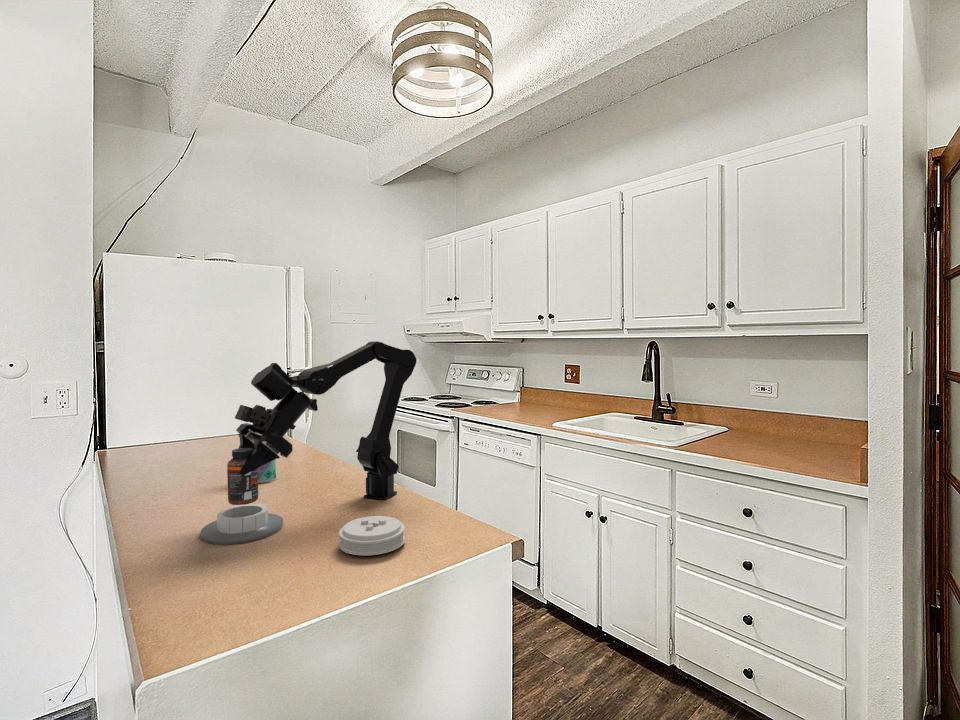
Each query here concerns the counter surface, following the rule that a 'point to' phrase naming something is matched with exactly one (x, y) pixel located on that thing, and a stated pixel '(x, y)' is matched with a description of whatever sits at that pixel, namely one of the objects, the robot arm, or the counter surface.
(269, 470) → the spray can
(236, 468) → the supplement bottle
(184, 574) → the counter surface
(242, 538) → the ring mount
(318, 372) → the robot arm
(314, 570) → the counter surface
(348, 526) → the lid
